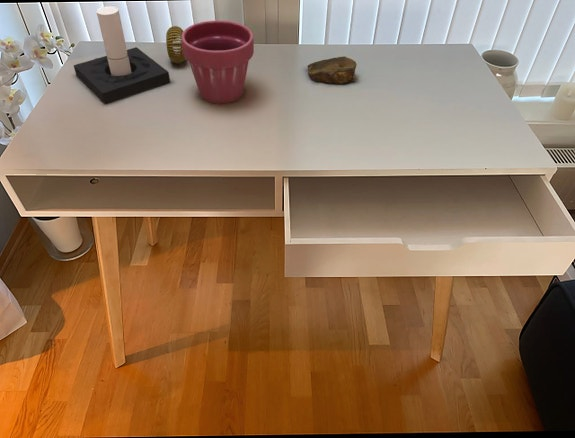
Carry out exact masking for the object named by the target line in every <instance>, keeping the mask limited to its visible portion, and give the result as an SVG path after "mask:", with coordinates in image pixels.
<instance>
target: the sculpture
mask: <svg viewBox="0 0 575 438" xmlns="http://www.w3.org/2000/svg"><path fill="white" fill-rule="evenodd" d="M183 32H184V29H183V28H182V27H180V26H178V25H172V26H171V27H169V28H168V29H167V31H166V33H165V34H166V35H165V44H166V52H167V55H168V58H169V59H170V61H171V62H173V63H175V64H182V63H184V62H185V61H186V59H185V57H184V55H183V49H182V33H183Z"/></svg>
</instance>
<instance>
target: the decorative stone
mask: <svg viewBox="0 0 575 438" xmlns="http://www.w3.org/2000/svg"><path fill="white" fill-rule="evenodd" d="M306 67H307V73H308V75H309V76H310V77H311V79H312V80H314V81H315V82H325V83H329V84H335V85H338V84H339V85H340V84H341V85H347V84H348V83H349V82H353V81H355V72H356V68H357V62H356V61H355V60H354V59H352V58H350V57H347V56H345V55H343V56H338V57H331V58H328V59H322V60H317V61H314V62H312V63H309V64H308V65H307V66H306Z"/></svg>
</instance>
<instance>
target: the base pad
mask: <svg viewBox="0 0 575 438" xmlns="http://www.w3.org/2000/svg"><path fill="white" fill-rule="evenodd" d="M127 54H128V58H129V63H130V67H131V72H132V73H131V74H128V75H124V76H112V75H111V71H110V67H109V63H108V59H107V55H105V56H101V57H97V58H94V59H90V60H87V61H84V62H80V63H76V64H74V65H73V69H74V73H75V76H76V77H77V78H78V79H79V80H80V81H81V82H82V83H83V84H84V85H85V86H86V87H87V88H88V89H89V90H90V91H91V92H93V94H95V95H96V96H97V97H98V98H99V99H100V100H101V101H102V102H103V103H104V104H105V105H107V104H110V103H113V102H117V101H118V100H122V99H124V98H128V97H131V96H134V95H136V94H137V95H138V94H141V93H143V92H145V91H149V90H151V89H155V88H157V87H160V86H163V85H166V84H169V83H171V80H170V79H171V78H170V73H169V71H168V70H167V69H165V68H164V67H163V66H162V65H161V64H159V63H158V62H156V61H155V60H154V59H153V58H151V57H150V56H148V55H147V54H146V53H145V52H143V51H142V50H141V49H140V48H138V47H137V46H136V47H132V48H129V49H127Z"/></svg>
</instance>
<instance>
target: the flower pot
mask: <svg viewBox="0 0 575 438" xmlns="http://www.w3.org/2000/svg"><path fill="white" fill-rule="evenodd" d="M183 31H184V32H183V33H182V39H181V40H182V49H183V55H184V57H185V61H187V62H188V63H189V66H190V69H191V71H192V75H193V77H194V81H195V84H196V86H197V89H198V92H199V96H200V97H201V98H202V99H203V100H204V101H206V102H209V103H212V104H228V103H232V102H235V101H237V100H239V99H241V97H242V96H243V94H244V88H245V83H246V79H247V72H248V67H249V61H250V60H251V59H252V58H253V55H254V52H255V49H254V47H255V44H254V34H253V32H252V30H251V29H250V28H249V27H247V26H245V24H241V23H239V22H235V21H230V20H207V21H200V22H196V23H194V24H192V25H189V26H188V27H187V28H184V29H183Z"/></svg>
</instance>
